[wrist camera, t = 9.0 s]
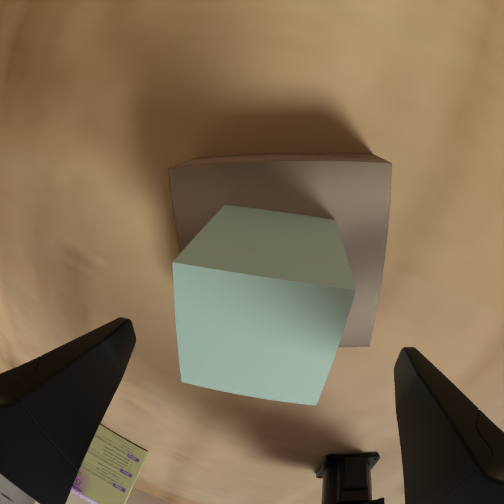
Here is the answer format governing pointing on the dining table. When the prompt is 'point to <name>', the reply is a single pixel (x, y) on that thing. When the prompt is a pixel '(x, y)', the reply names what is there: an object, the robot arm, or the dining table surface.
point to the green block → (262, 304)
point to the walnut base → (300, 208)
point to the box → (108, 469)
